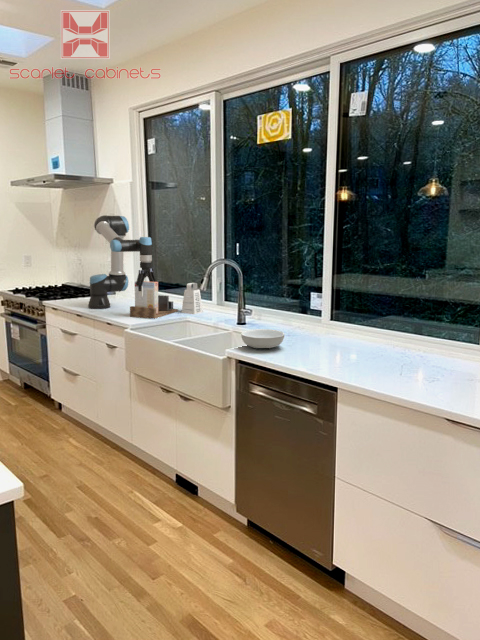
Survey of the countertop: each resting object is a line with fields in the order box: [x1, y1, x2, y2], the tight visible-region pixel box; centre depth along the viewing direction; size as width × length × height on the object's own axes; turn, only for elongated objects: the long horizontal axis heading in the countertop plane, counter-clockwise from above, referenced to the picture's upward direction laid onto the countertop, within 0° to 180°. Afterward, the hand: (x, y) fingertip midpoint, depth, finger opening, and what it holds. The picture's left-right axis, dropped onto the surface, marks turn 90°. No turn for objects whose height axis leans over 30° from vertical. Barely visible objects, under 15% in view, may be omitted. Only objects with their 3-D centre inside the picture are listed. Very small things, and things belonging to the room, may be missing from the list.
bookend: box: [158, 294, 174, 311], centre depth 322 cm, size 14×10×10 cm
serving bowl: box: [240, 328, 285, 349], centre depth 228 cm, size 21×21×7 cm
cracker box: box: [134, 280, 159, 314], centre depth 304 cm, size 14×6×21 cm, turn 75°
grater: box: [181, 282, 204, 315], centre depth 320 cm, size 10×10×20 cm
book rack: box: [129, 305, 179, 320], centre depth 314 cm, size 18×31×6 cm, turn 159°
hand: (146, 294), depth 304 cm, fingers open, 13 cm apart
